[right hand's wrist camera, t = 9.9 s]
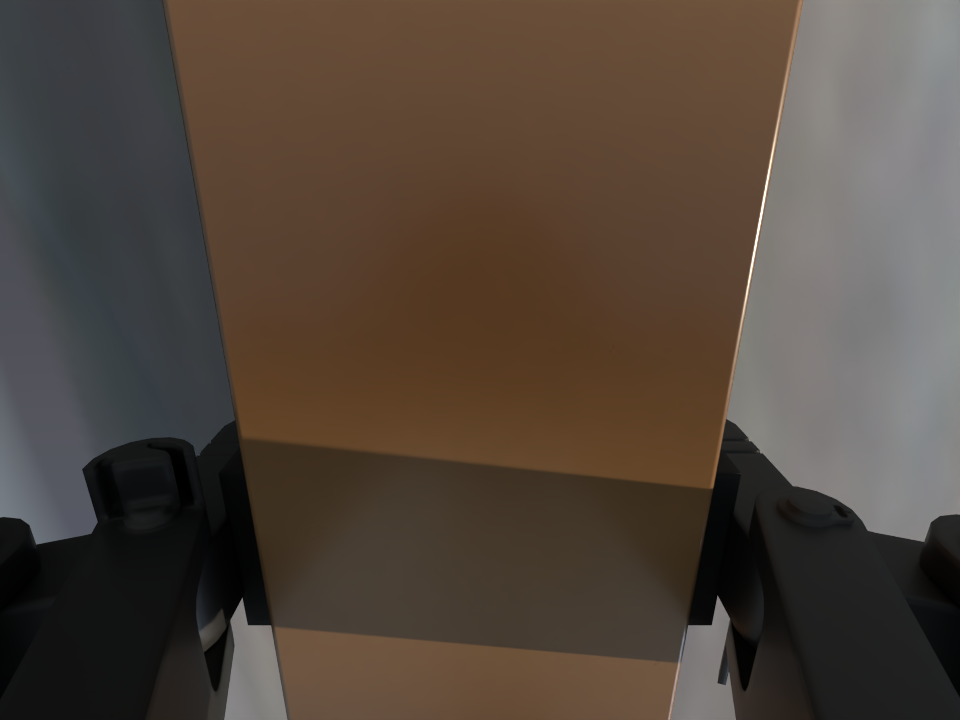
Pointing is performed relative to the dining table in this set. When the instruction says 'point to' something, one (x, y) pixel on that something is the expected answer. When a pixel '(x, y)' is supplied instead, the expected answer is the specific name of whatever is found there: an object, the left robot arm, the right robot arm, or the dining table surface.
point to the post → (481, 329)
